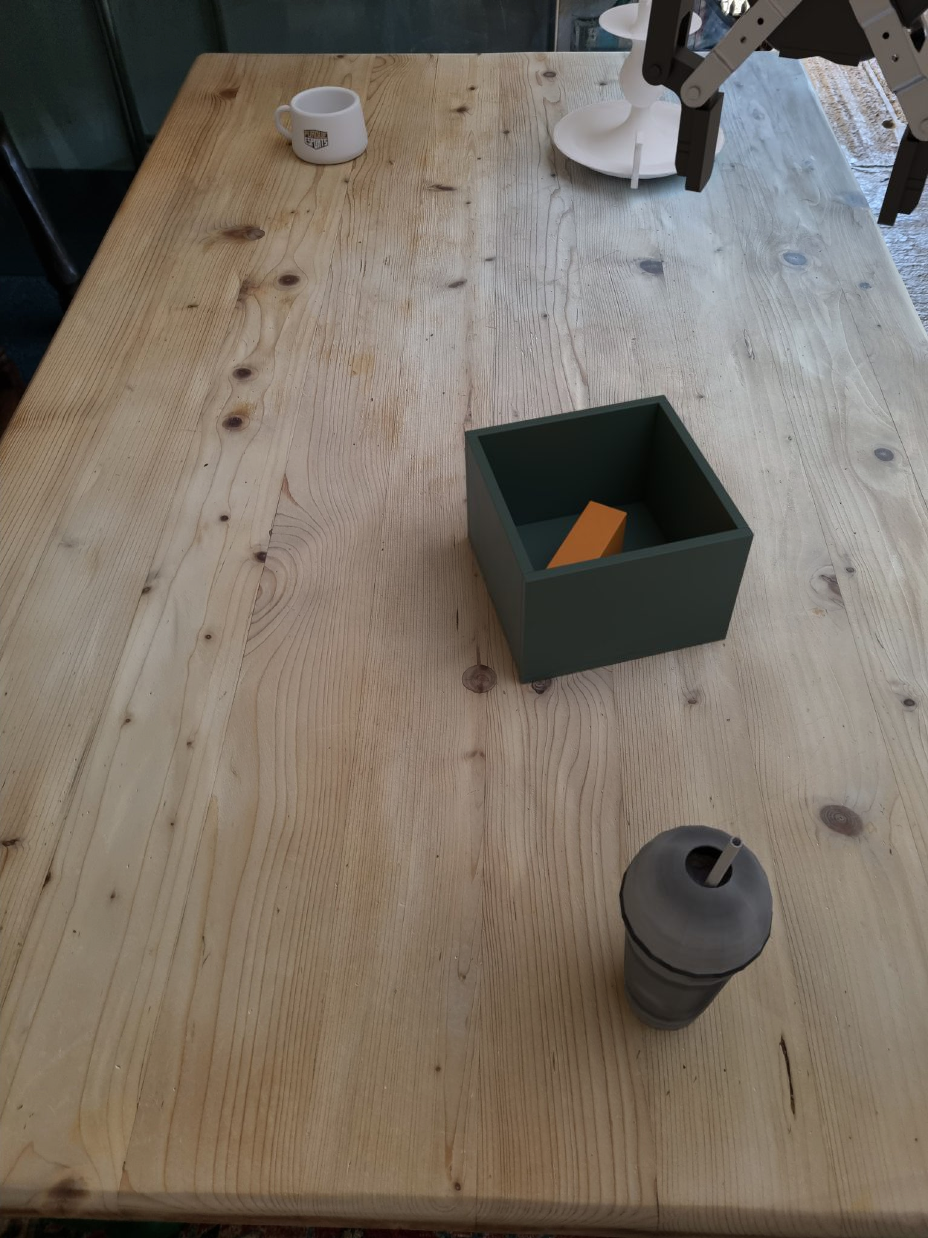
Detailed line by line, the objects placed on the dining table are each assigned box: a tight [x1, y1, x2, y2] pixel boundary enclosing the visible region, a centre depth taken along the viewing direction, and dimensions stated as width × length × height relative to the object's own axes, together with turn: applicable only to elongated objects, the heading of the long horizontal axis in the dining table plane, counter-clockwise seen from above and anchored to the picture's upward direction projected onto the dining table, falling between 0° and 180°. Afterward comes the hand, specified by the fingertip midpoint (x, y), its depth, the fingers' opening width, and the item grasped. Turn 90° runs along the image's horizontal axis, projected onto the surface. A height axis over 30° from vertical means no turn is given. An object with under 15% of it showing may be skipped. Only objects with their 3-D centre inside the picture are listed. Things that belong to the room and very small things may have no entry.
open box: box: [464, 394, 755, 685], centre depth 73 cm, size 16×16×11 cm
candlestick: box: [552, 0, 725, 189], centre depth 111 cm, size 21×25×28 cm
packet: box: [546, 501, 627, 569], centre depth 73 cm, size 3×5×9 cm
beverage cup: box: [618, 824, 774, 1032], centre depth 49 cm, size 7×7×20 cm
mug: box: [273, 86, 369, 165], centre depth 124 cm, size 12×10×6 cm
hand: (790, 200), depth 45 cm, fingers open, 8 cm apart
